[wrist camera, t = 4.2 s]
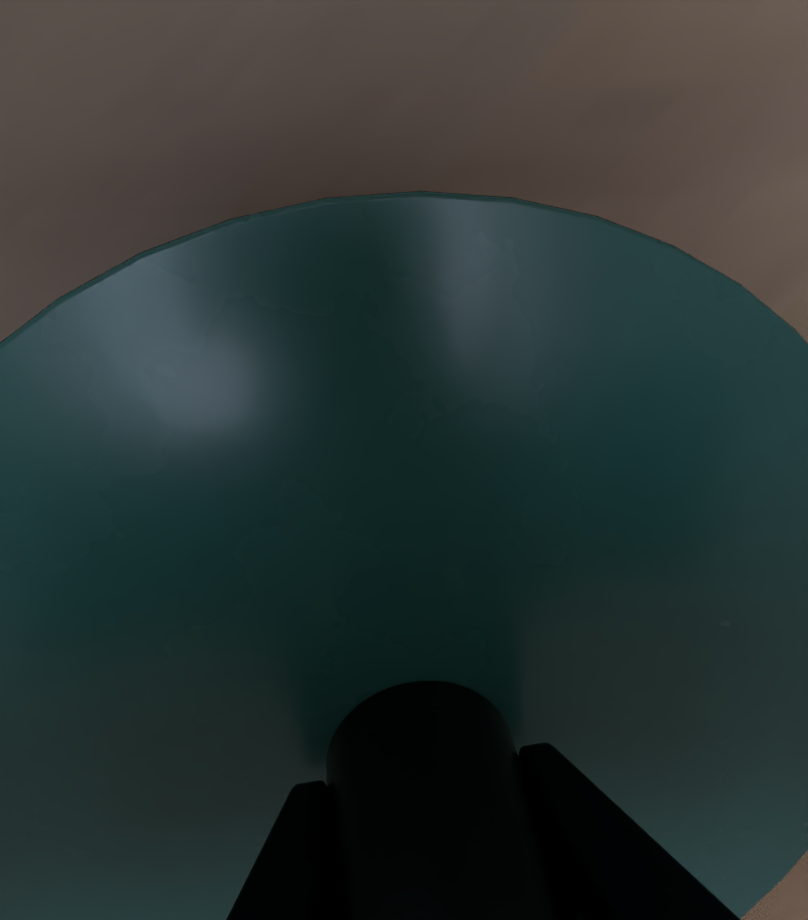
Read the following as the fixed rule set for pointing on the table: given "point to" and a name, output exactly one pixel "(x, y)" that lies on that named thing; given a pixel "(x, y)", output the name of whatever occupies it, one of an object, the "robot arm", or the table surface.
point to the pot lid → (398, 562)
